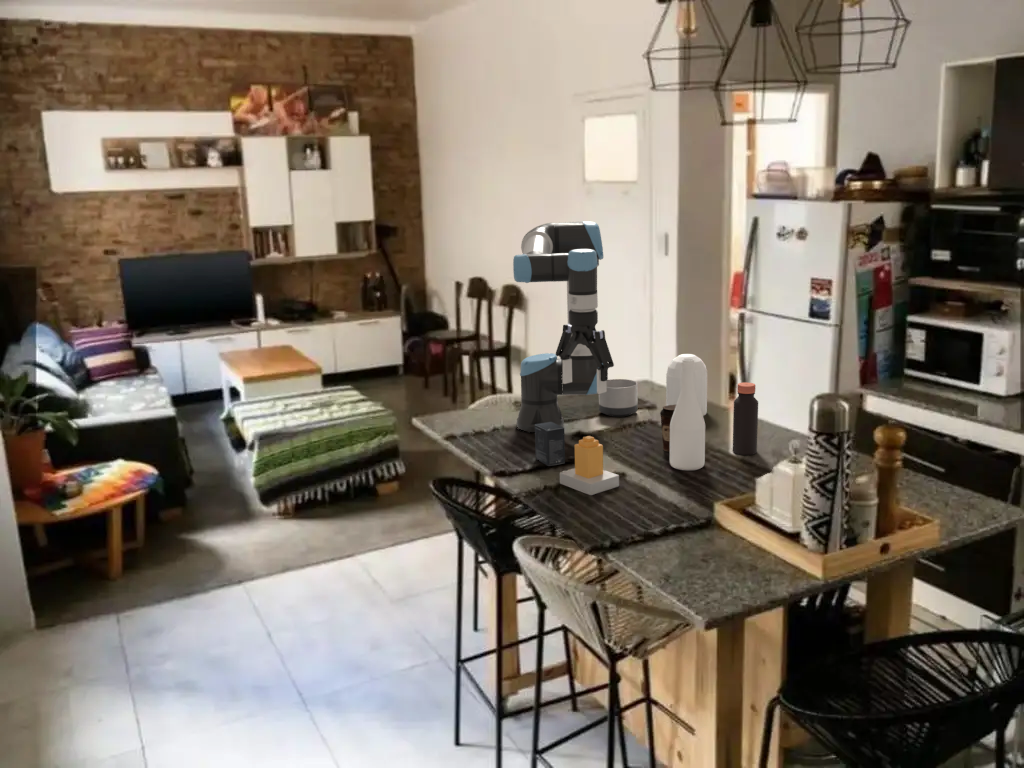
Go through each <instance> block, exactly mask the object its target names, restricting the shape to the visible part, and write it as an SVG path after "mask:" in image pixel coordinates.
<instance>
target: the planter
mask: <svg viewBox="0 0 1024 768" xmlns="http://www.w3.org/2000/svg"><path fill="white" fill-rule="evenodd" d="M606 384H607V392H604V393H600V394H598V411H599V412H600V413H602V414H604V415H606V416H609V417H614V418H621V417H622V418H623V417H624V418H625V417H628V416H631V415H633V414H635V413H636V412H637V411H638V409H639V408H638V400H639V399H638V398H639V397H638V382H637V381H636V380H634V379H633V380H632V379H627V378H612V379H610V378H609V379H608V380H607V381H606Z"/></svg>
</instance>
